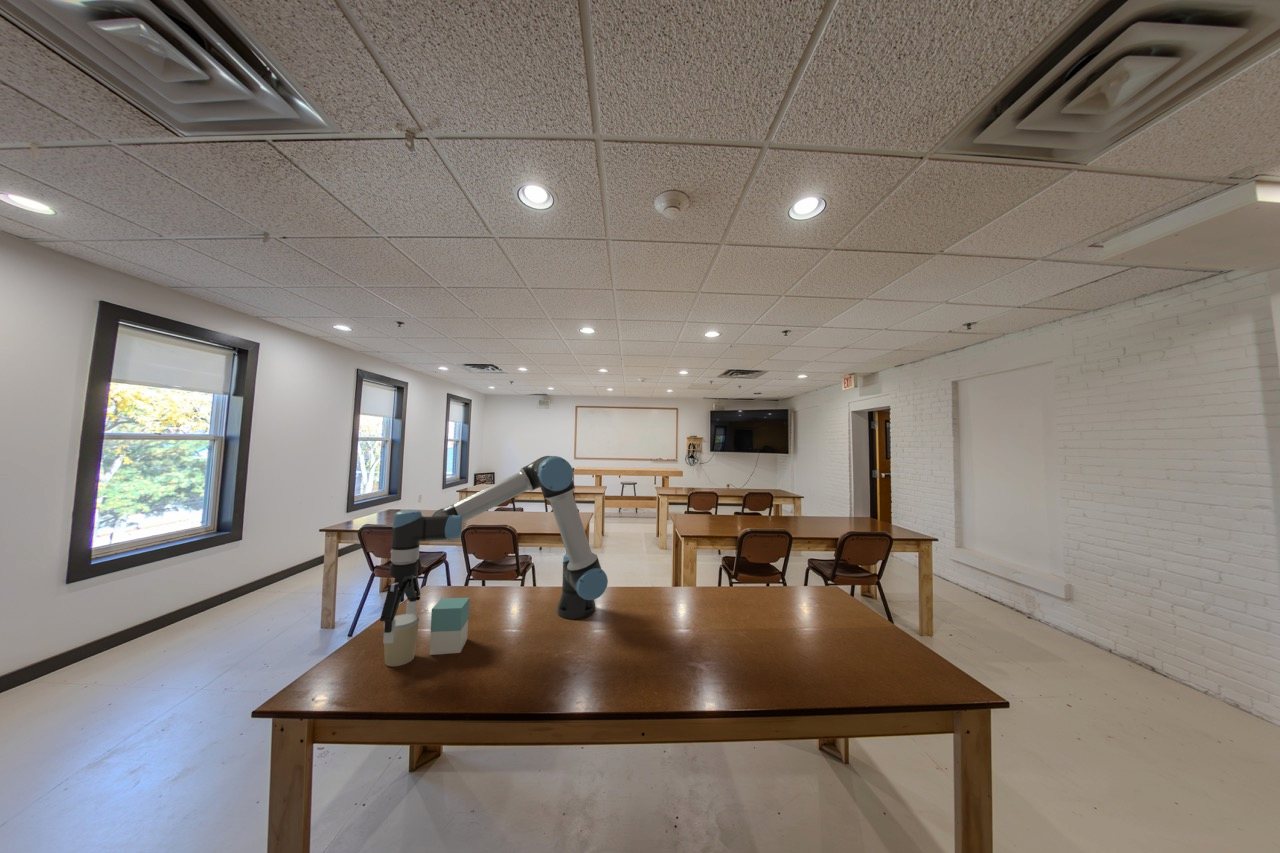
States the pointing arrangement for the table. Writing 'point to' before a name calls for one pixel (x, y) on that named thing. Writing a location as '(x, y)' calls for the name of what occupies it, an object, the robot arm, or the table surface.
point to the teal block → (450, 614)
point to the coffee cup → (402, 640)
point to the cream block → (448, 641)
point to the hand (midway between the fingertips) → (400, 631)
